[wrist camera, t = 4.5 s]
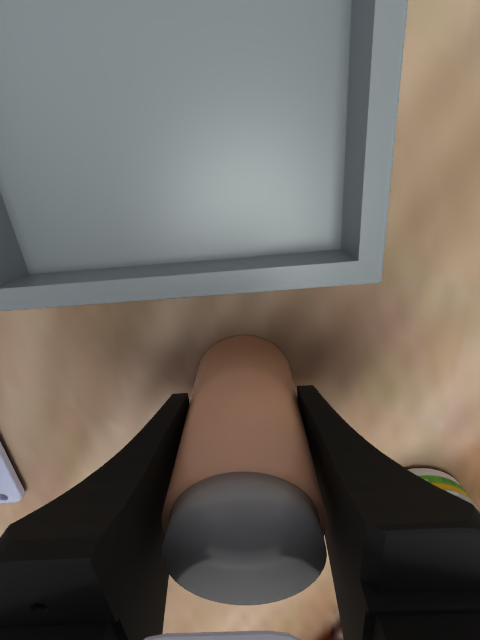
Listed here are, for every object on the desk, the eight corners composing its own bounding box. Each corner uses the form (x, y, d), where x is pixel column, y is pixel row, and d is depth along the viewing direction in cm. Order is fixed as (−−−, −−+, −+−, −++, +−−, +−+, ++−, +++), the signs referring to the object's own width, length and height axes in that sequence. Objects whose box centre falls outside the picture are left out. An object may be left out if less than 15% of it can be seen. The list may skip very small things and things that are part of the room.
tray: (24, 290, 13) (-21, 312, 11) (-124, -119, 9) (-256, -227, 6) (356, 265, 13) (381, 282, 11) (385, -189, 8) (440, -336, 6)
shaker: (204, 416, 16) (169, 611, 9) (191, 338, 14) (136, 500, 7) (291, 411, 16) (332, 606, 8) (289, 331, 14) (338, 490, 7)
